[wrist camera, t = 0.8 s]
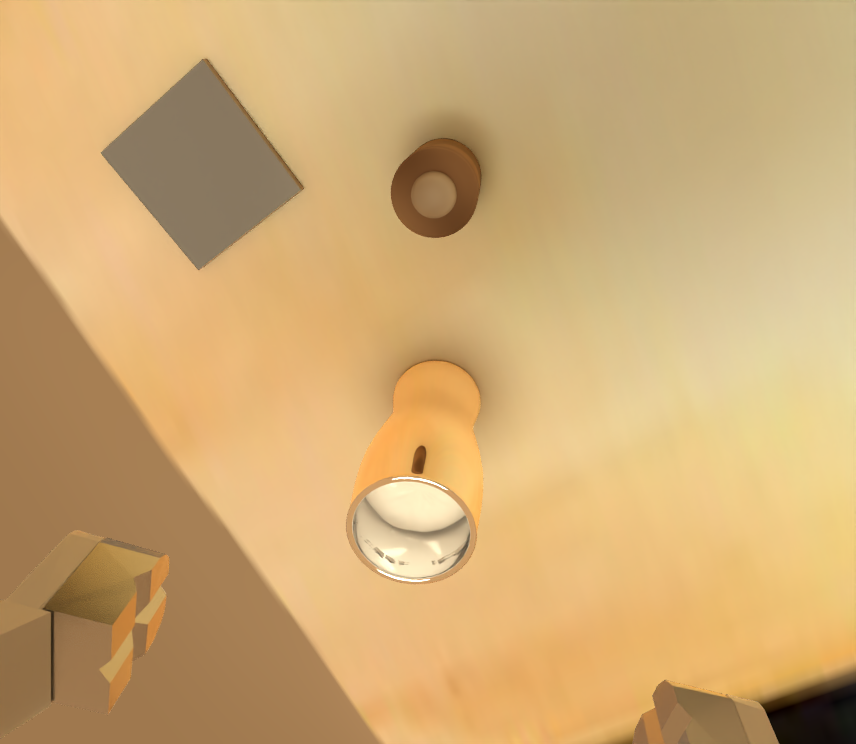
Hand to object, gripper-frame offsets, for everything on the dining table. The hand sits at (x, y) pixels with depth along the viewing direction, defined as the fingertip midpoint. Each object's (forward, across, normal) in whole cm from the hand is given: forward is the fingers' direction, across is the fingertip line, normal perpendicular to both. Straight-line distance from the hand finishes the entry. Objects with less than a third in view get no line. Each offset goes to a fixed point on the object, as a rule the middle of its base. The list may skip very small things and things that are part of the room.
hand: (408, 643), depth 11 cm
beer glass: (+34, -1, +12) cm, 36 cm away
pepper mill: (+34, +2, -2) cm, 34 cm away
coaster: (+34, +17, +1) cm, 38 cm away
